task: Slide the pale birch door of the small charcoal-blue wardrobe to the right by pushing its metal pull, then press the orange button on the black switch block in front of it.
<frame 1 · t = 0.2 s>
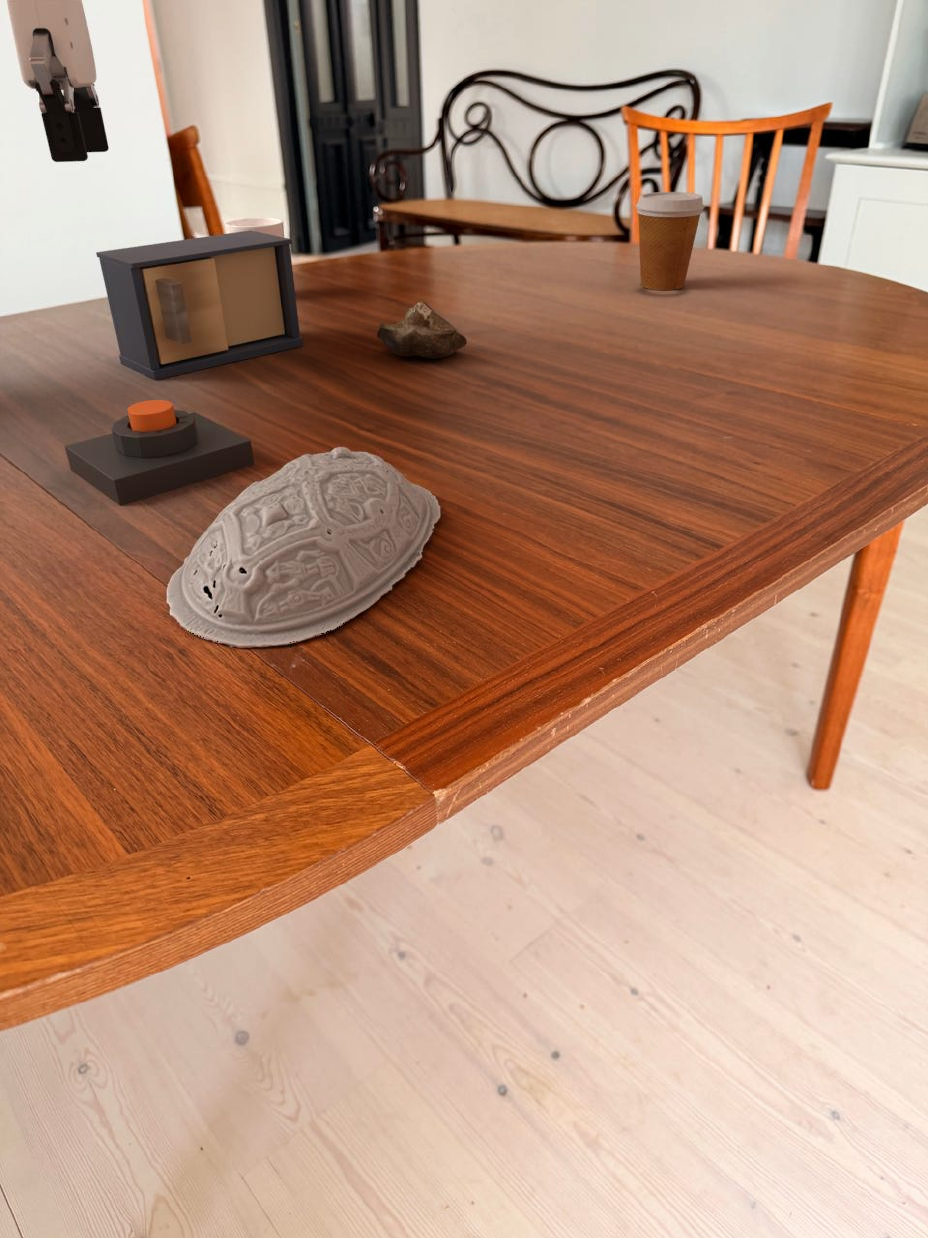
hand: (82, 156, 89), 21 cm above the table, tool pointing down, fingers open, 9 cm apart
closet door: (194, 313, 97), point 6 cm above the table, slide at 0.0 cm
grey embossed domed part: (317, 553, 63), on the table
closet: (214, 354, 106), on the table
orange button: (152, 416, 74), point 4 cm above the table, slide at 0.1 cm
switch block: (162, 467, 77), on the table
disposable coffee cup: (662, 286, 133), on the table
white cup: (264, 297, 131), on the table
fossilized seashell: (423, 357, 104), on the table
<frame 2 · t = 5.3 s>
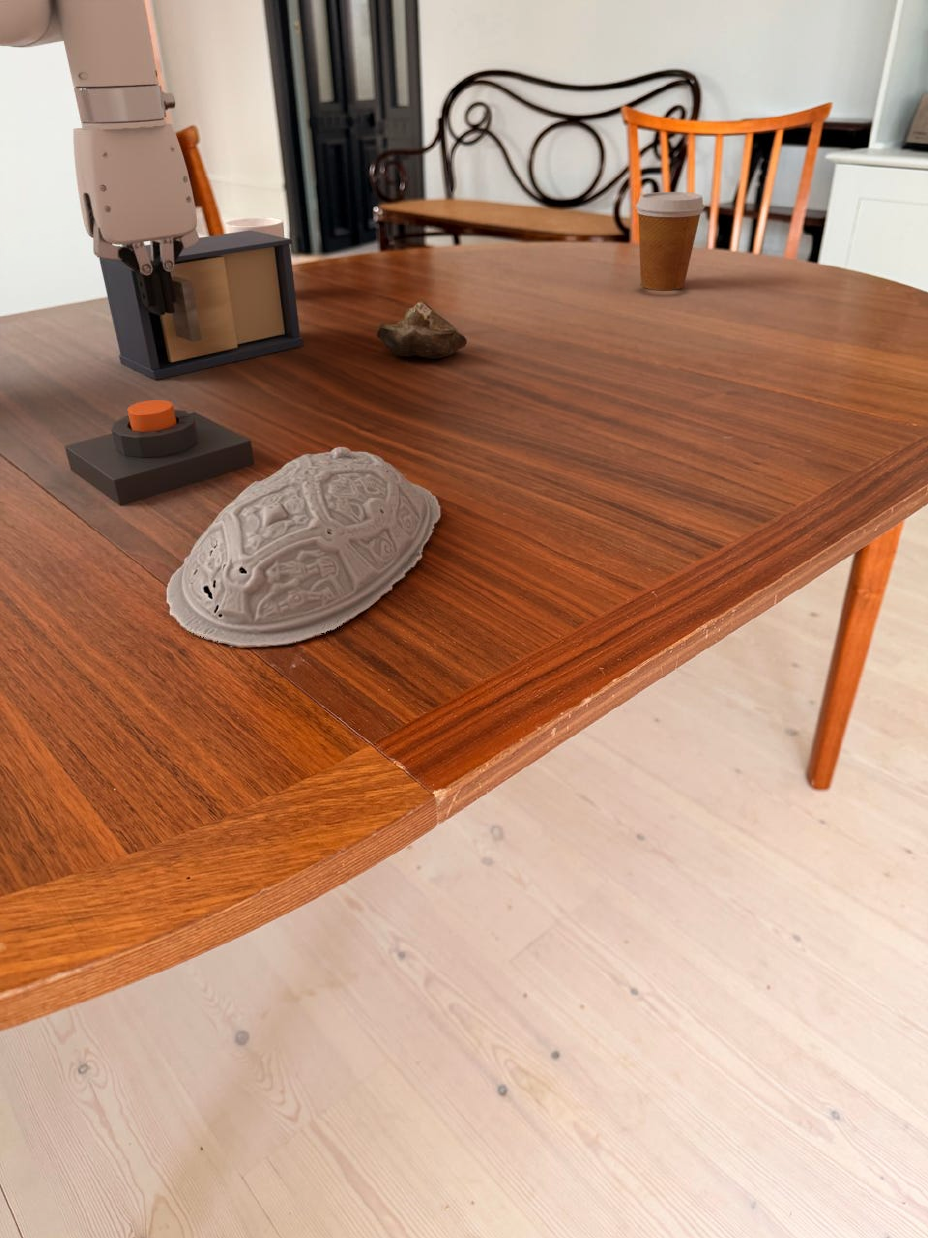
hand: (161, 311, 94), 7 cm above the table, tool pointing down, fingers closed
closet door: (203, 311, 98), point 6 cm above the table, slide at 1.2 cm, touching gripper
everything else where it was.
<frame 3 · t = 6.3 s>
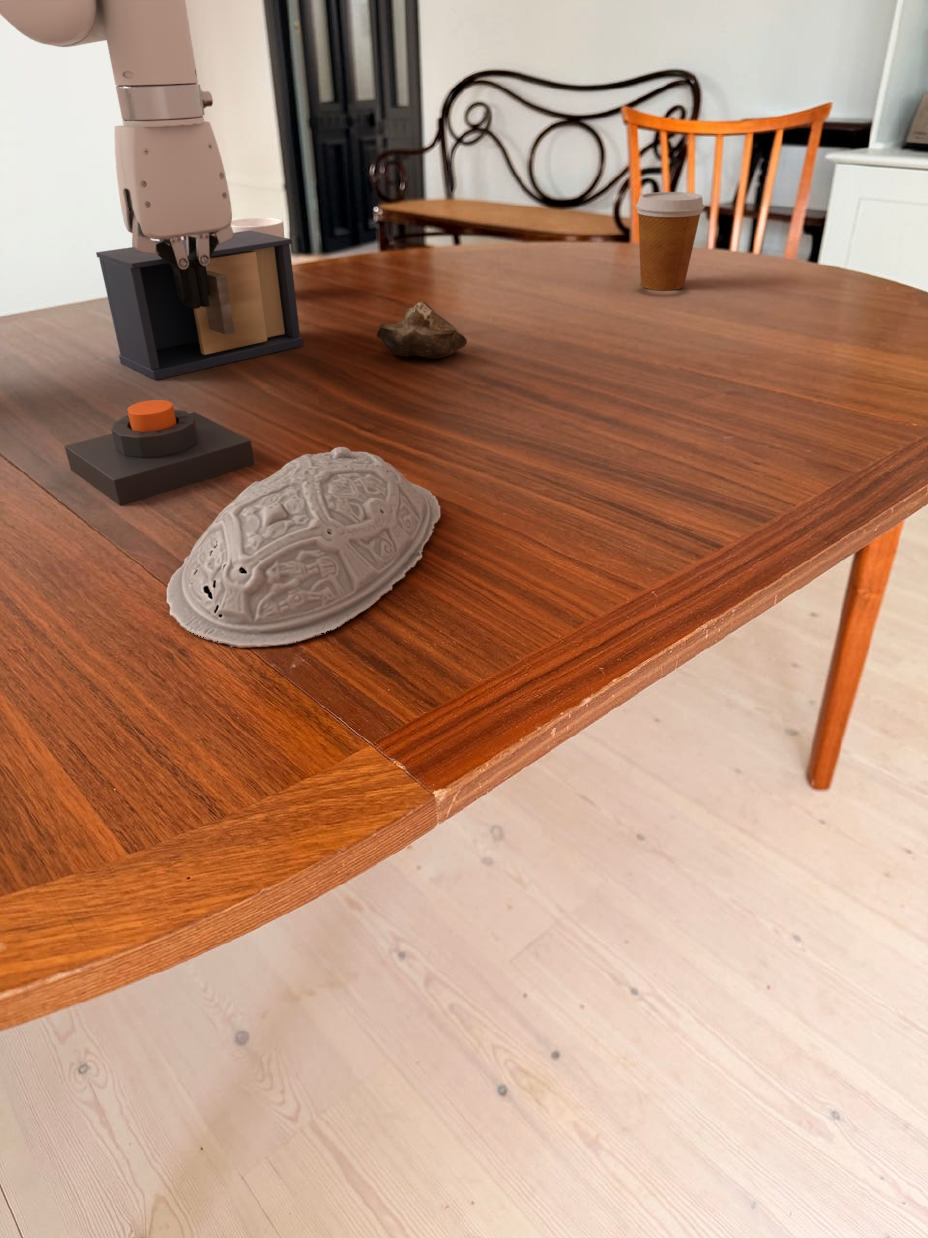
hand: (195, 305, 96), 7 cm above the table, tool pointing down, fingers closed
closet door: (236, 305, 100), point 6 cm above the table, slide at 5.1 cm, touching gripper
everything else where it was.
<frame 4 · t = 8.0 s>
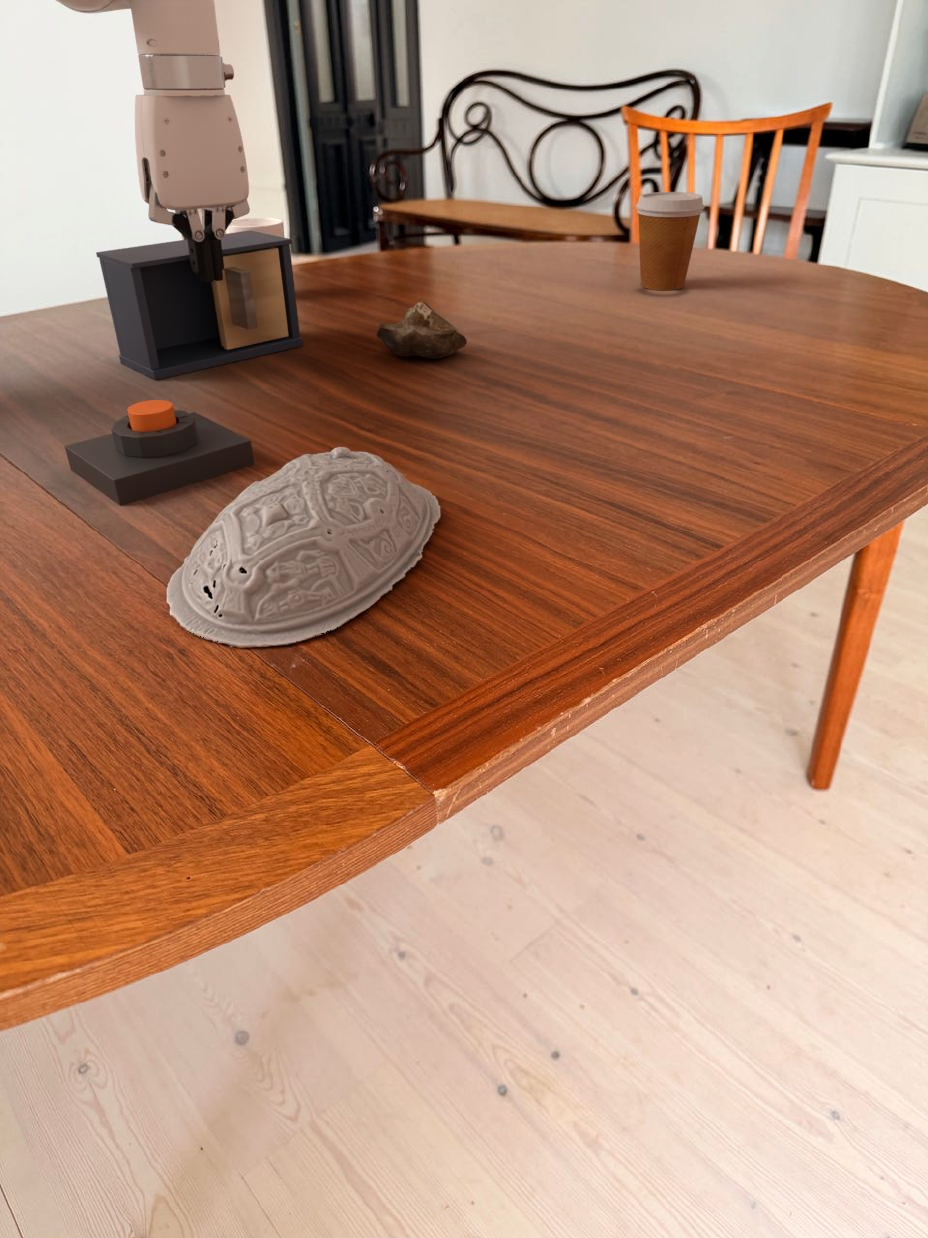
hand: (209, 278, 96), 10 cm above the table, tool pointing down, fingers closed
closet door: (259, 301, 101), point 6 cm above the table, slide at 8.0 cm
everything else where it was.
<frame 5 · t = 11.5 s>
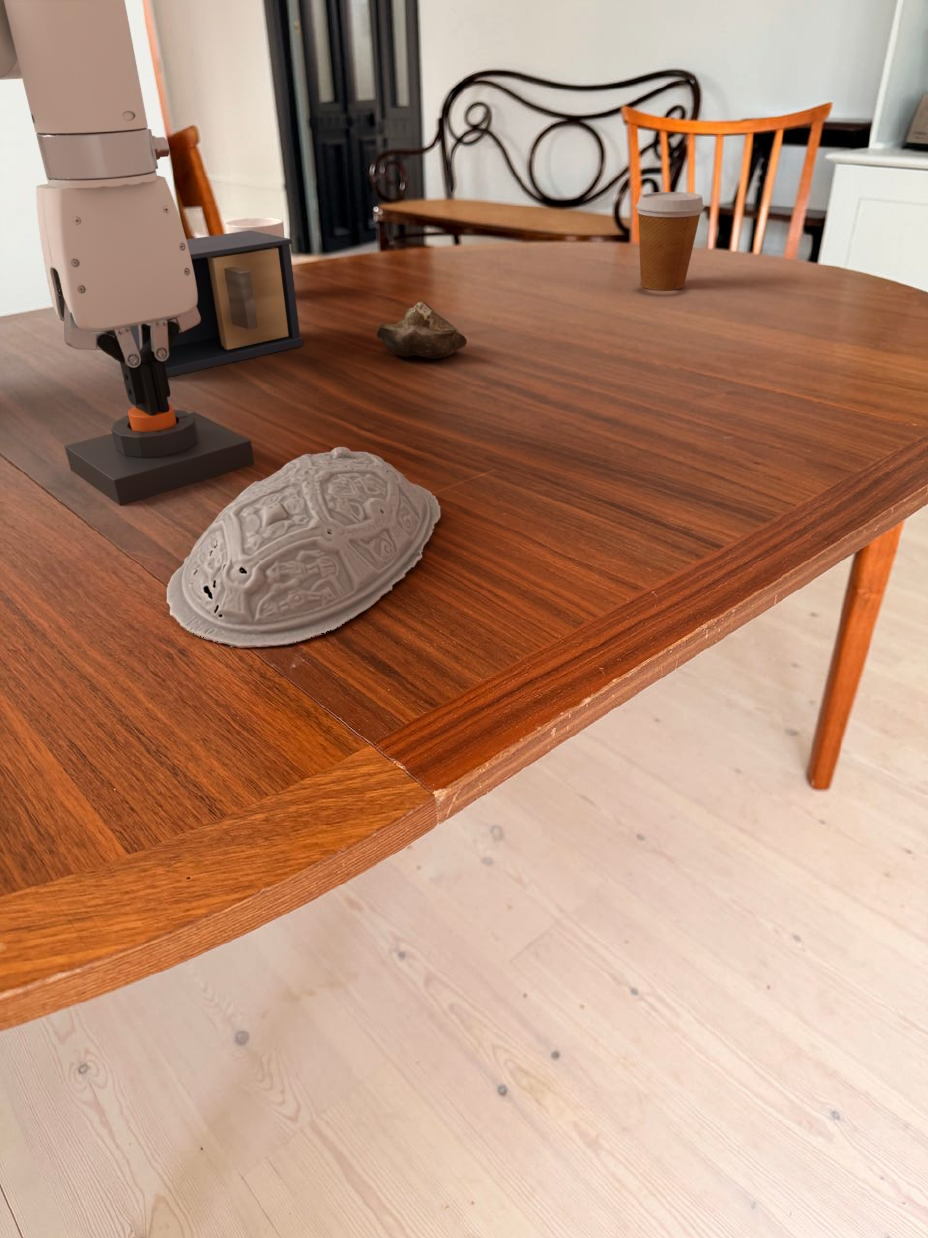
hand: (152, 408, 74), 5 cm above the table, tool pointing down, fingers closed
orange button: (152, 419, 75), point 4 cm above the table, slide at -0.1 cm, touching gripper
everything else where it was.
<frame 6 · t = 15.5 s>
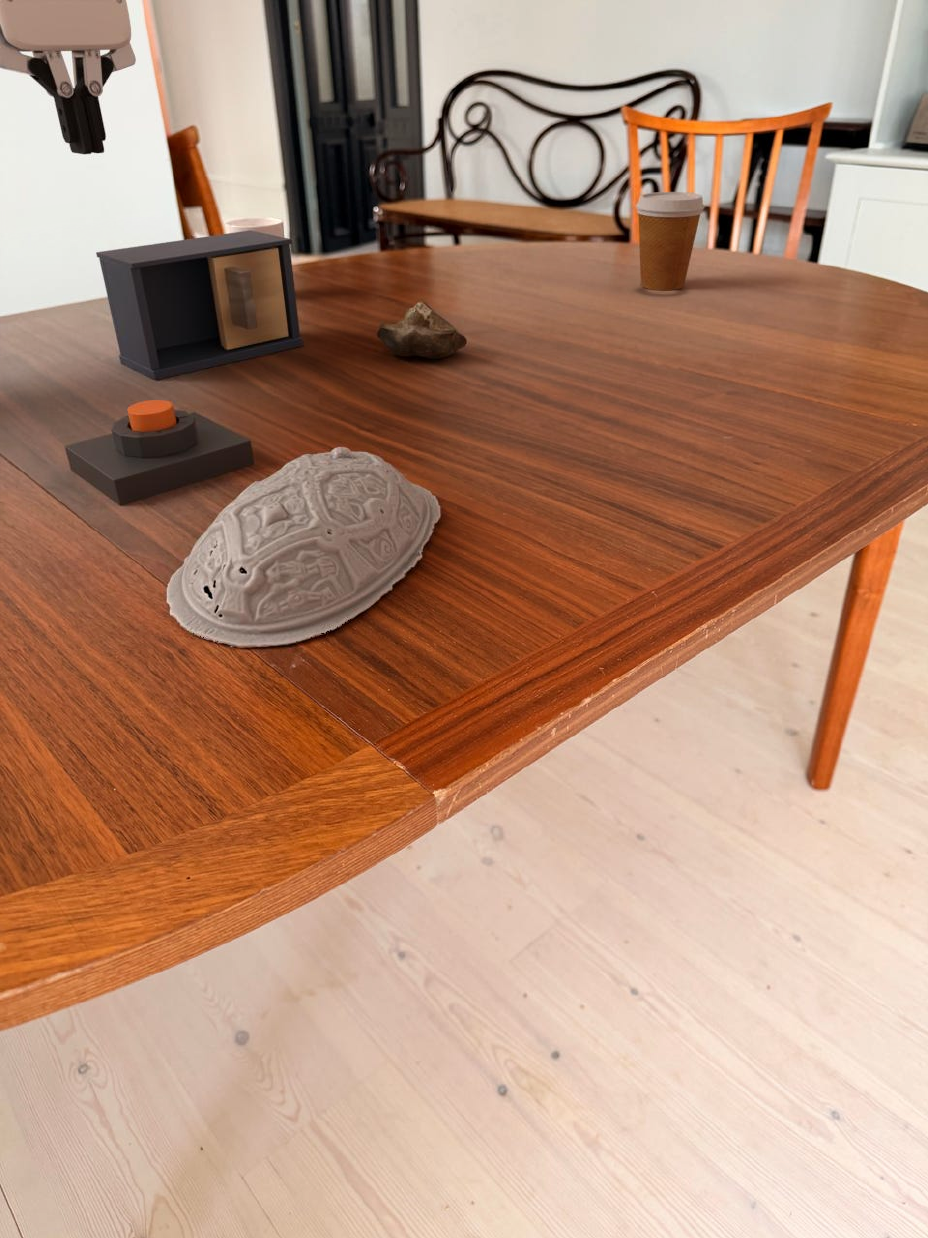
hand: (87, 151, 74), 23 cm above the table, tool pointing down, fingers closed
orange button: (152, 416, 74), point 4 cm above the table, slide at 0.1 cm
everything else where it was.
at the end: closet door slide at 8.0 cm; orange button pushed in 1.1 cm at the most during the clip, back to where it started at the end; orange button slide at 0.1 cm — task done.
